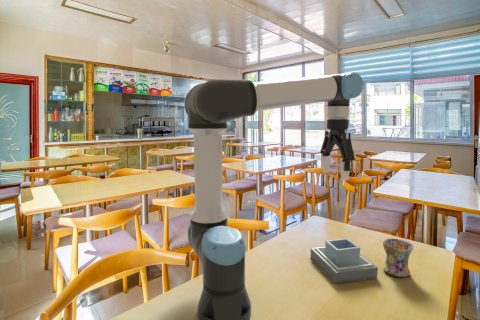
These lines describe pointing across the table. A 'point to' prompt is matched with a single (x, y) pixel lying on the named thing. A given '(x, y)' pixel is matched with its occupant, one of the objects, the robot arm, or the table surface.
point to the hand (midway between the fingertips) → (334, 176)
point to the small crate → (342, 252)
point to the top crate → (362, 264)
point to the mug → (397, 257)
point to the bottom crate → (345, 274)
